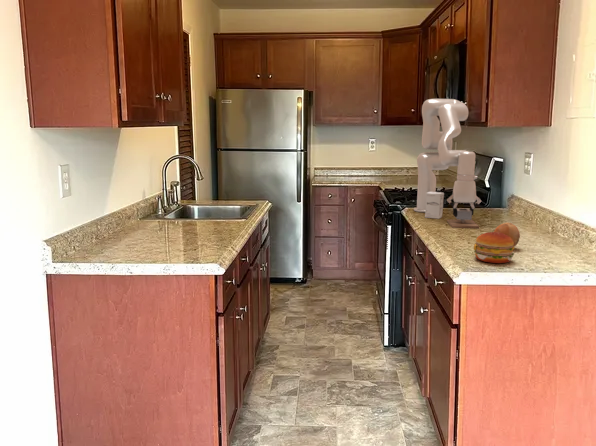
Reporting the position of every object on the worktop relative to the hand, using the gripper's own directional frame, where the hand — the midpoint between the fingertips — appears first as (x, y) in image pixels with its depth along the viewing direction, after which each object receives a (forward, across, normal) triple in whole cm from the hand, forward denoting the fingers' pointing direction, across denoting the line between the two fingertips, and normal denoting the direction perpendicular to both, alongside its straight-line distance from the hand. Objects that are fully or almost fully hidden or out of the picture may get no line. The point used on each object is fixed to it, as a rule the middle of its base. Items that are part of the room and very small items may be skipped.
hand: (462, 216), depth 258 cm
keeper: (+4, 0, 0) cm, 4 cm away
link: (+1, 0, 0) cm, 1 cm away
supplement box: (+4, +11, -19) cm, 22 cm away
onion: (+4, -8, +48) cm, 49 cm away
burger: (+4, +1, +68) cm, 68 cm away
